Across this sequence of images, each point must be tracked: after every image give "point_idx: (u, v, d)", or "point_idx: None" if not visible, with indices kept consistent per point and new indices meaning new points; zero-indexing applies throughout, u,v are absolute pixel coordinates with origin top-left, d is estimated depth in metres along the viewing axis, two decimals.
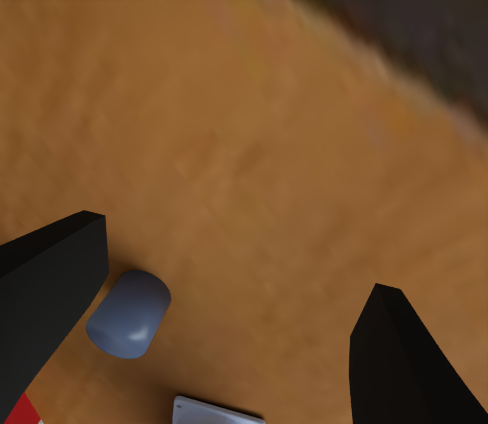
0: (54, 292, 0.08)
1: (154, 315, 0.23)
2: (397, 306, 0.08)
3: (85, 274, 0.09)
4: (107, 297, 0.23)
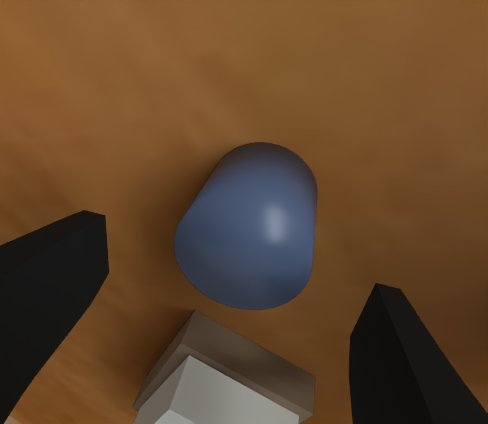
0: (54, 292, 0.08)
1: (254, 172, 0.11)
2: (397, 306, 0.08)
3: (85, 274, 0.09)
4: None
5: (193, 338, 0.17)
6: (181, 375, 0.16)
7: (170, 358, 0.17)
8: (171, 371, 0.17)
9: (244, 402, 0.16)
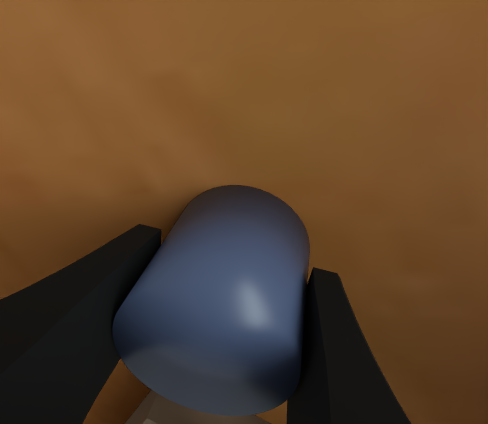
0: None
1: (222, 237, 0.08)
2: (327, 288, 0.08)
3: None
4: None
5: (163, 410, 0.14)
6: None
7: None
8: None
9: None
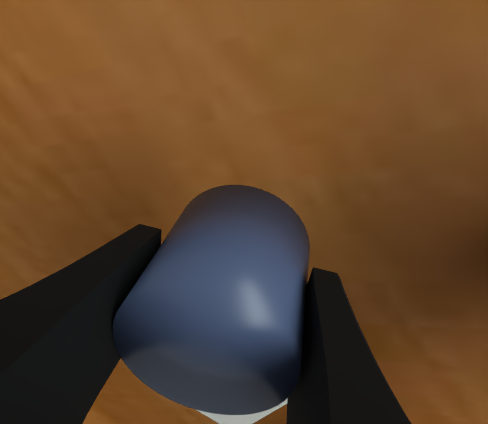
0: None
1: (222, 237, 0.08)
2: (327, 288, 0.08)
3: None
4: None
5: None
6: None
7: None
8: None
9: None
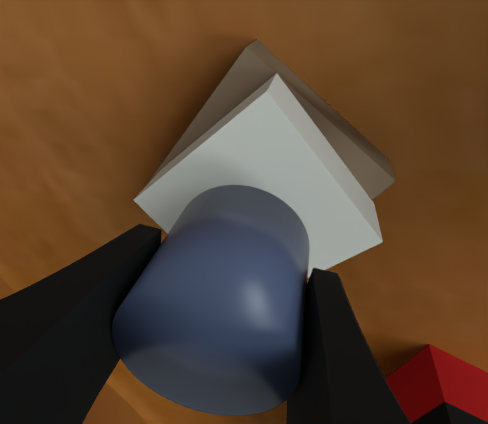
0: None
1: (221, 237, 0.08)
2: (327, 288, 0.08)
3: None
4: None
5: (259, 53, 0.12)
6: (271, 81, 0.11)
7: (223, 81, 0.13)
8: (218, 108, 0.13)
9: (330, 152, 0.12)
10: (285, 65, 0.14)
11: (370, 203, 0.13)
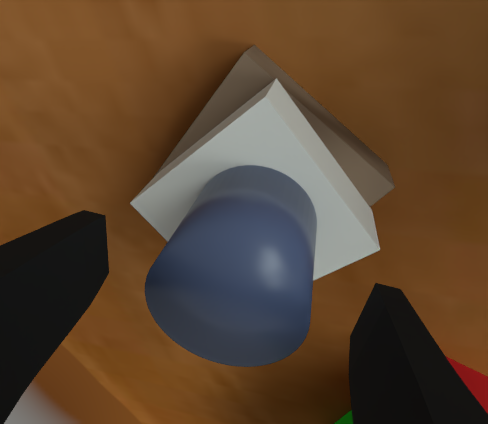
0: (54, 292, 0.08)
1: (241, 205, 0.09)
2: (397, 306, 0.08)
3: (85, 274, 0.09)
4: None
5: (257, 59, 0.12)
6: (270, 86, 0.11)
7: (220, 87, 0.12)
8: (216, 114, 0.13)
9: (329, 159, 0.12)
10: None
11: (368, 210, 0.13)
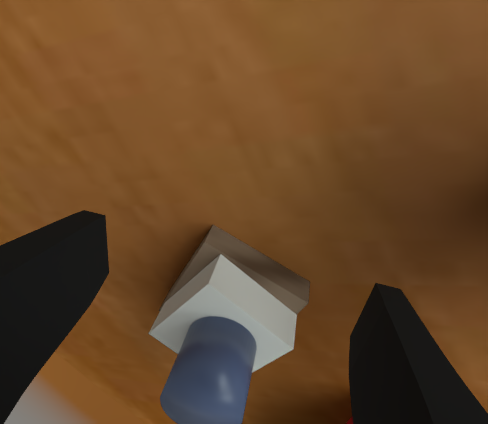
0: (54, 292, 0.08)
1: (199, 353, 0.18)
2: (397, 306, 0.08)
3: (85, 274, 0.09)
4: None
5: (213, 240, 0.21)
6: (215, 265, 0.20)
7: (194, 257, 0.21)
8: (194, 270, 0.22)
9: (259, 295, 0.21)
10: None
11: (291, 317, 0.21)
